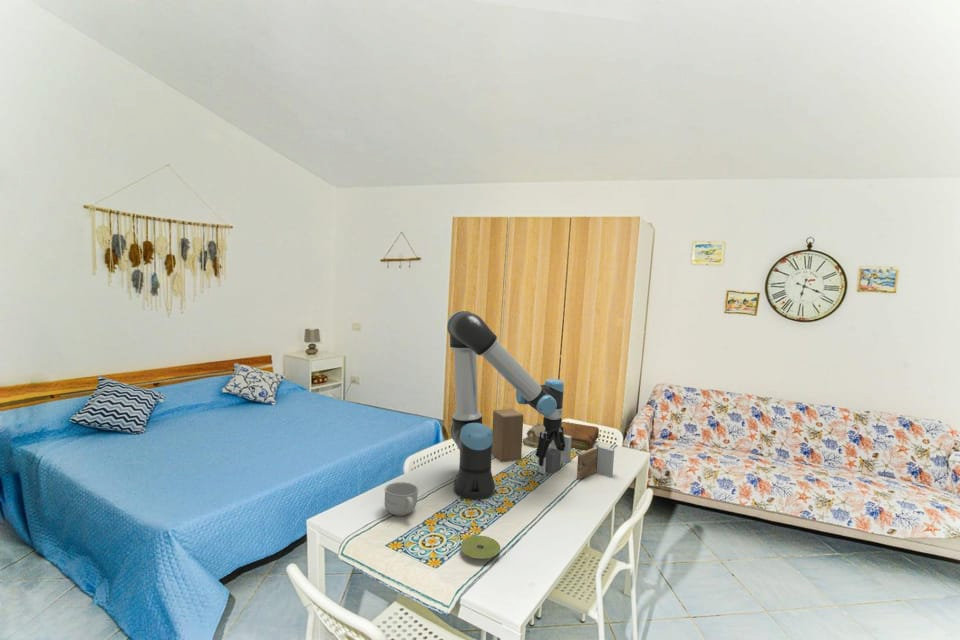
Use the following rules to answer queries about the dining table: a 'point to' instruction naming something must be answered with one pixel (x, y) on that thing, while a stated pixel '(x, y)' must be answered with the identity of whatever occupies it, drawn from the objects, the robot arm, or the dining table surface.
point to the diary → (581, 435)
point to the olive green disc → (480, 547)
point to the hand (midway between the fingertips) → (549, 469)
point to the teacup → (400, 498)
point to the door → (587, 462)
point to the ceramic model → (534, 435)
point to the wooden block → (507, 434)
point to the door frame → (603, 459)
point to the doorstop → (552, 460)
